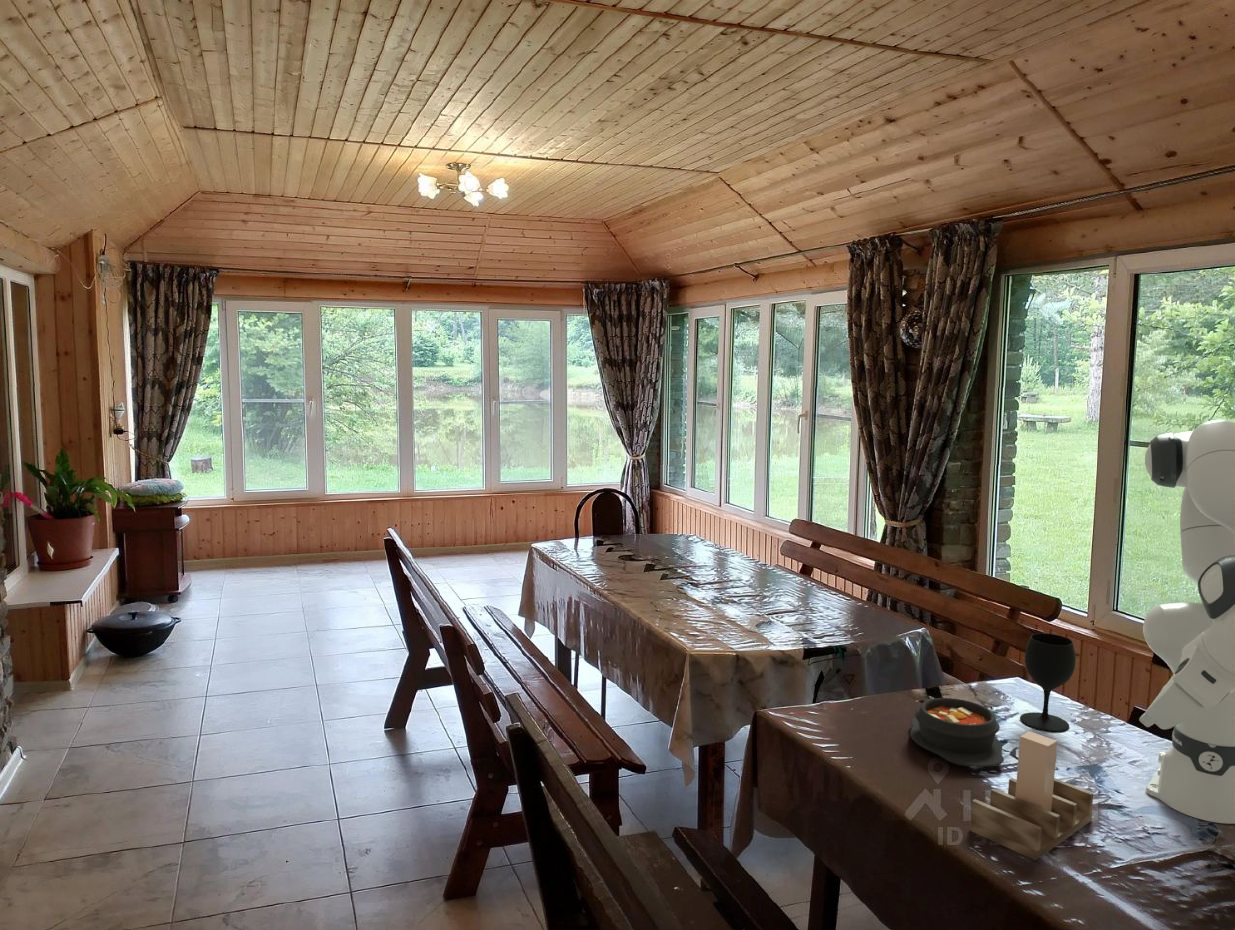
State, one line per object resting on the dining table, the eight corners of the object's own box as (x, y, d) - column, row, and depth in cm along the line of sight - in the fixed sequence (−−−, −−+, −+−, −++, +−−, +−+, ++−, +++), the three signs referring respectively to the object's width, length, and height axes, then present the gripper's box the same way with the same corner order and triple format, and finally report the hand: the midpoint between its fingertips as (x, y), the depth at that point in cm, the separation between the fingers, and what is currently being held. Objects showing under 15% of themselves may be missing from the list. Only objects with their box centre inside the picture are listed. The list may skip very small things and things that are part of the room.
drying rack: (1091, 820, 165) (1094, 792, 165) (1035, 860, 152) (1038, 829, 151) (1027, 794, 175) (1029, 767, 174) (969, 830, 161) (971, 801, 161)
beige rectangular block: (1050, 820, 162) (1057, 740, 160) (1041, 826, 160) (1048, 746, 158) (1023, 808, 166) (1029, 731, 164) (1013, 814, 164) (1020, 736, 162)
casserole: (1026, 775, 183) (1029, 735, 182) (936, 776, 182) (939, 736, 181) (971, 723, 208) (973, 688, 206) (891, 724, 206) (893, 688, 205)
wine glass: (1055, 713, 214) (1062, 632, 211) (1078, 732, 203) (1086, 647, 201) (1011, 713, 213) (1018, 631, 211) (1033, 732, 203) (1040, 646, 200)
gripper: (1219, 618, 146) (1161, 663, 156) (1174, 678, 134) (1114, 723, 144) (1255, 647, 144) (1193, 691, 153) (1213, 711, 132) (1149, 754, 141)
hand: (1155, 707), depth 148 cm, fingers open, 8 cm apart
